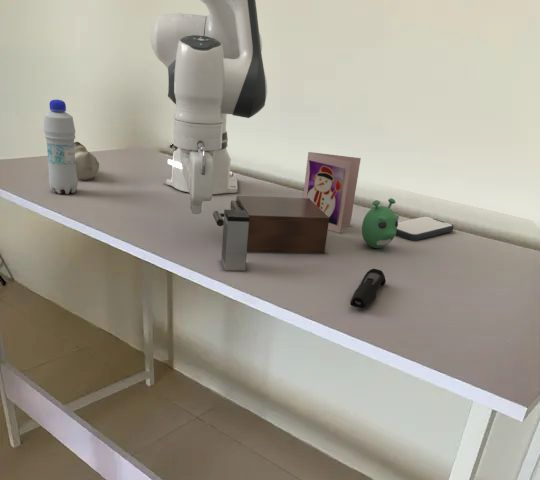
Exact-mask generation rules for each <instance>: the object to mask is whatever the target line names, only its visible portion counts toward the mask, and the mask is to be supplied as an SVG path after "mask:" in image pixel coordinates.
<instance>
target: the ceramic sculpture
mask: <svg viewBox="0 0 540 480" xmlns="http://www.w3.org/2000/svg"><path fill="white" fill-rule="evenodd" d="M74 147H75V163H76V172H77V180H83V181H88V180H91V179H94V178H96V176H97V175H98V172H99V169H100V162H99V161H98V159H97V158H96V156H95V154H93V153H91V152H90V151H89V150H87V148H86V146H85V145H83V143H81V142H79V141H74Z"/></svg>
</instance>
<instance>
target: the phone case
mask: <svg viewBox="0 0 540 480" xmlns="http://www.w3.org/2000/svg"><path fill="white" fill-rule="evenodd" d="M454 228H455V226H454V224H452V223H449V222H447V221H443V220H440V219H437V218H434V217H430V216H421V217H420V216H419V217H415V218H411V219H407V220H401V221H398V226H397V230H396V236H397V237H400V238H403V239H406V240H409V241H419V240H422V239H426V238H431V237H434V236H438V235H442V234H446V233H451V232H453V231H454Z"/></svg>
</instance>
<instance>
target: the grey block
mask: <svg viewBox="0 0 540 480" xmlns="http://www.w3.org/2000/svg"><path fill="white" fill-rule="evenodd" d="M223 213H224V217H223V221H224V222H223V227H222V241H221V242H222V243H221V244H222V245H221V263H222V266H223V269H224V271H227V272H229V271H233V272H235V271H237V272H239V271H241V272H245V271H246V267H247V266H246V265H247V255H248V252H247V243H248V230H249V216H248V215H247V213H246V211H245V210H230V209H224V210H223Z"/></svg>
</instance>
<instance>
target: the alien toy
mask: <svg viewBox="0 0 540 480" xmlns="http://www.w3.org/2000/svg"><path fill="white" fill-rule="evenodd" d="M387 201H388V203H389V204H388V206H385V205H380V204H381V201H380V200H377V199H374V201H372V203H371V204H372V206H374V207H372V208H371V209H369V210H368V211H367V213H366V214H365V215H364V217H363V220H362V223H361V232H362V233H361V234H362V238H363V241H364V242H365V243H366V244H367V245H368V246H370V247H371V248H374V249H383V248H385V247H387V246H389V244H390V243H391V242H392V241H393V239H394V238H395V237H397V235H396V230H397V226H398V222H399V218H400V215H397V214H396V213H395V212H394V211H393V209H391V207H392V205H393V204H396V200H395V199H394V198H391V197H390V198H388V199H387Z"/></svg>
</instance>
